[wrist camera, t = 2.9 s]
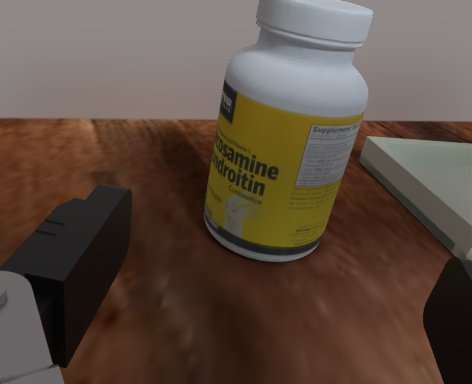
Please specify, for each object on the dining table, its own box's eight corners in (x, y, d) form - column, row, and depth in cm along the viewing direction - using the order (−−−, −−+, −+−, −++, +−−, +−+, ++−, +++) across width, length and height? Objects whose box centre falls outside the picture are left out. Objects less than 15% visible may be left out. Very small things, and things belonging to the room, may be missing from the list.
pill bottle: (193, 196, 26) (224, -23, 20) (296, 199, 27) (352, -1, 22) (213, 270, 20) (263, -2, 15) (339, 268, 22) (428, 25, 16)
